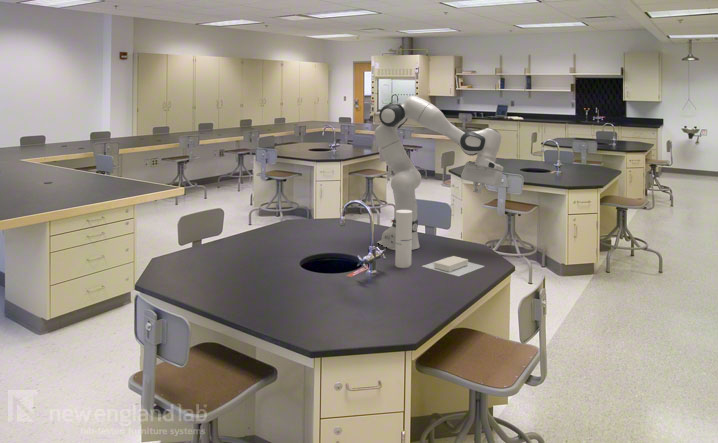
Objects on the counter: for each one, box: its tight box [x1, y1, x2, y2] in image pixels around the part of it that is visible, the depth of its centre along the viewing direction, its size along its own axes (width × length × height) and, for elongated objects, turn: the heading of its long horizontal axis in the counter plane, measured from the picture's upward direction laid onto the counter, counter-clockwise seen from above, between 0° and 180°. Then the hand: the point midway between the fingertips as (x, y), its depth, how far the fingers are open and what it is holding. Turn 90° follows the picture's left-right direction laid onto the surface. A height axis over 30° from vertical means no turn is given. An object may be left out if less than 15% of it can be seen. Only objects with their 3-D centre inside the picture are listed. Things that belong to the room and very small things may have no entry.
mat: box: [421, 256, 486, 277], centre depth 250 cm, size 20×20×1 cm
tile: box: [433, 255, 469, 272], centre depth 249 cm, size 8×3×14 cm
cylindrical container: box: [394, 210, 412, 269], centre depth 251 cm, size 7×7×25 cm
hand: (476, 192), depth 262 cm, fingers closed
